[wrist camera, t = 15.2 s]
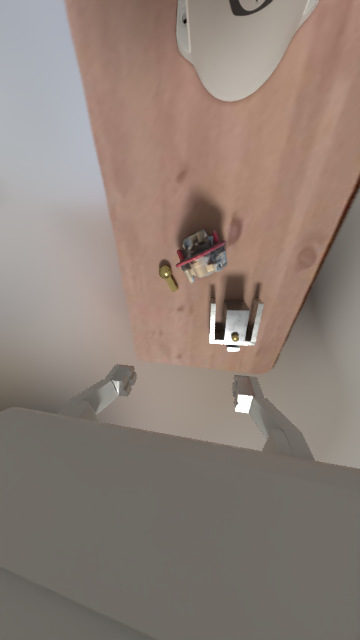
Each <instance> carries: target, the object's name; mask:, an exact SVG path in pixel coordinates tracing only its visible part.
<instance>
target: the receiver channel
mask: <svg viewBox="0 0 360 640" xmlns="http://www.w3.org/2000/svg"><path fill="white" fill-rule="evenodd" d="M263 306H264V303H263V302H262V301H261V300H260V299H259V298H254V301H253V306H252V312H251V317H250V323H249V328H248V334H246V336H245V341H244V345H255V342H256V337H257V333H258V328H259V324H260V319H261V315H262V310H263ZM215 311H216V301H215V298H211V310H210V343H216V344H224V341H223V334H222V333H214V331H215ZM226 346H227V351H239V345H229V344H226Z"/></svg>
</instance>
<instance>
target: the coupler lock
mask: <svg viewBox="0 0 360 640" xmlns="http://www.w3.org/2000/svg"><path fill="white" fill-rule="evenodd" d="M249 313H250V310H249V308H248V306H247V305H246V303H245V301H244V300H224V312H223V325H222V334H223V341H224V344H229V345H244V341H245V336H246V330H247V324H248V319H249Z"/></svg>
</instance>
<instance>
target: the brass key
mask: <svg viewBox="0 0 360 640" xmlns="http://www.w3.org/2000/svg"><path fill="white" fill-rule="evenodd" d="M171 274H172V270H171V268H170V267H169V266H167V265H164V266H162V267H161V268H160V269H159V275H160V276H161V277H162V278H164V279H165V280H166V281H167V283H168V285H169V287H170V288H171V290H172V292H174V291H176V290H178V286H177V284H176V283H175V281H174V279H173V277H172V275H171Z"/></svg>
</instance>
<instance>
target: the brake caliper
mask: <svg viewBox="0 0 360 640" xmlns="http://www.w3.org/2000/svg"><path fill="white" fill-rule="evenodd" d="M224 244H226V241H222V242H220V240H219V237H218V234H217V231H216V230H215V231H213V233H212V236H211V237H209V236H208V235H207V233H206V231H205V229H202V230H200V231H198V232H197V233H195V234H194V235H191V236H189V237H187V238H185V239H184V240H183V244H182V245H183V249H181V250H177V254H178V256H179V258H180V263H178V264H177V265H176V267H179V266H181V267H182V270H183V271H184V273H185V275H186V277H187V278H188V280H189V282H190V283H193V282H194V278H195V276H197V277H198V278H202V277H205V276H208V275H210V274H211V273H213V272H214V271H215V272H218V271H221V270H222V269H223V267H225V266H226V265H227V258H226V252H225V249H224Z"/></svg>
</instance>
